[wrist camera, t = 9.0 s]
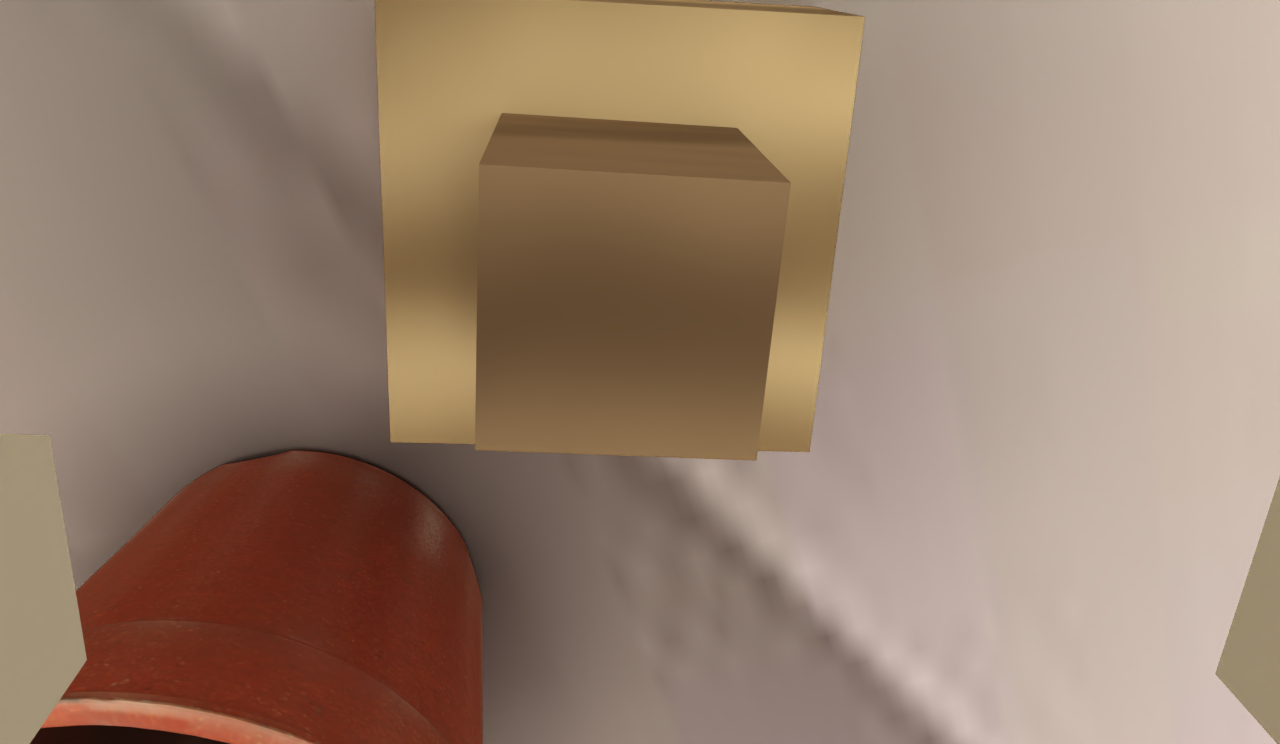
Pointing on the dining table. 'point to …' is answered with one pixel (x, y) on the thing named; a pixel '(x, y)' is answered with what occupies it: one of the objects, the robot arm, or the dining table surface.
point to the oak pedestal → (597, 89)
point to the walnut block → (625, 288)
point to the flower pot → (282, 617)
